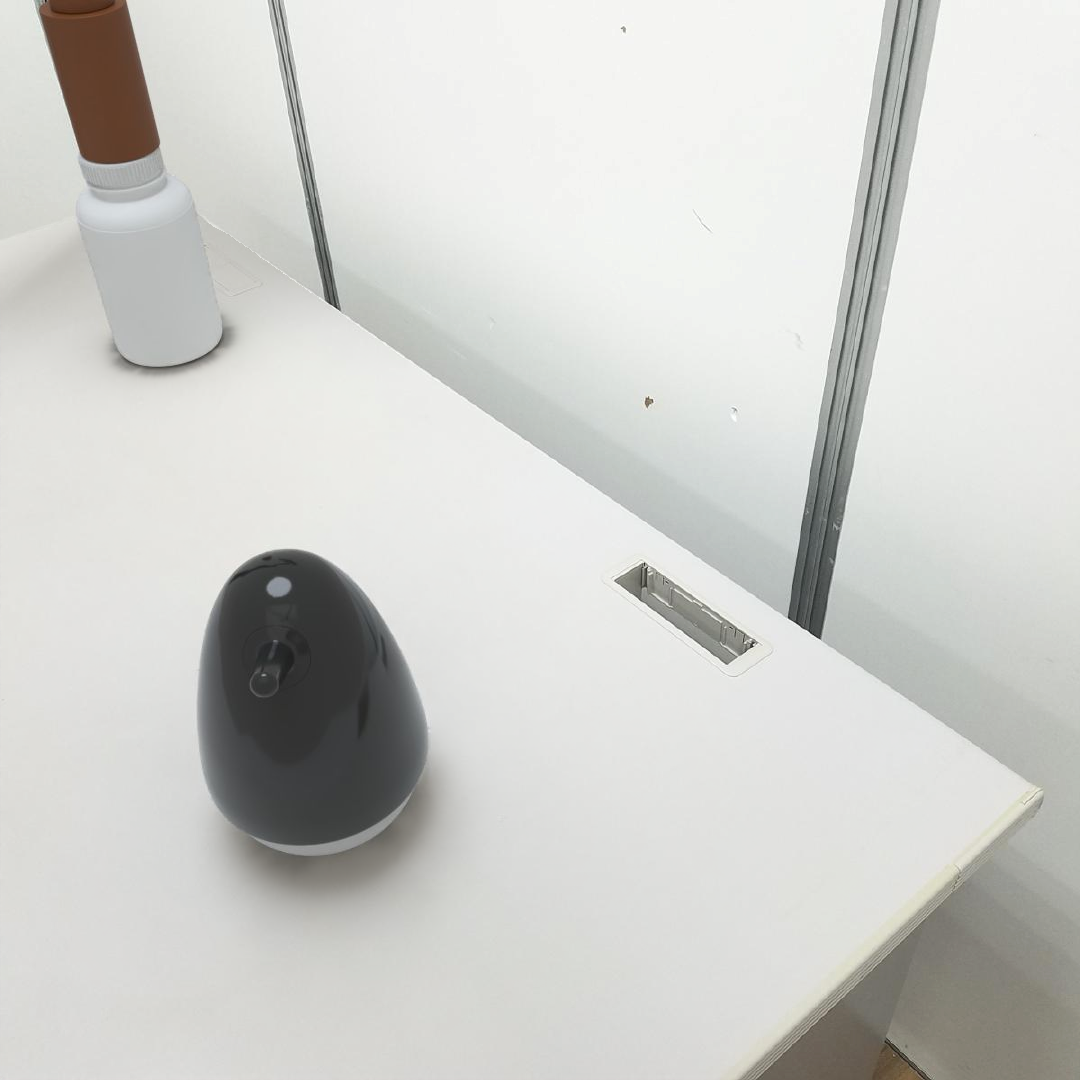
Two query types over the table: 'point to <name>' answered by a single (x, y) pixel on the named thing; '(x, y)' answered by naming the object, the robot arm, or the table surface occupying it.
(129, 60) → the amber bottle
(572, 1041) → the table surface
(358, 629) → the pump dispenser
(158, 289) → the pill bottle
